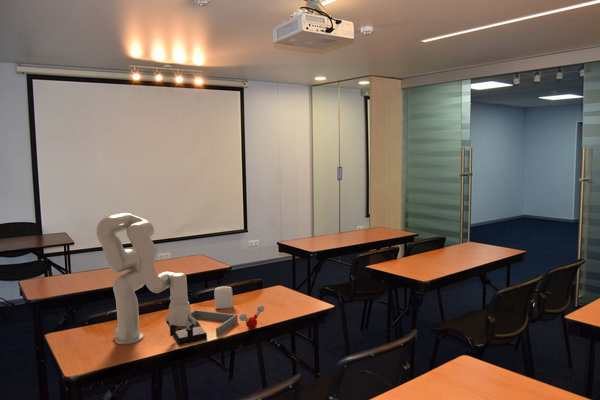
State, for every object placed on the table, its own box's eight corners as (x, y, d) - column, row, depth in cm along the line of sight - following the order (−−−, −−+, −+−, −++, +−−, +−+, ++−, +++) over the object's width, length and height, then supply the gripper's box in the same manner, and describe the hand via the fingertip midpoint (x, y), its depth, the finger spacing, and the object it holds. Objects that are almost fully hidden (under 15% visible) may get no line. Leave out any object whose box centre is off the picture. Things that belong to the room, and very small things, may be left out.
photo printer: (214, 309, 244) (213, 288, 243) (215, 307, 249) (214, 286, 248) (233, 308, 246) (232, 287, 245) (233, 305, 250) (232, 284, 249)
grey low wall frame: (173, 330, 216) (172, 322, 215) (195, 317, 233) (195, 309, 233) (218, 336, 206) (217, 328, 206) (237, 322, 224) (237, 314, 224)
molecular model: (247, 335, 206) (246, 315, 205) (237, 333, 209) (236, 313, 208) (266, 323, 222) (265, 304, 221) (256, 321, 224) (255, 302, 223)
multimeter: (197, 327, 220) (197, 317, 220) (207, 340, 203) (206, 330, 203) (171, 332, 214) (170, 322, 214) (179, 346, 197) (178, 335, 197)
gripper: (158, 300, 198) (161, 336, 200) (189, 304, 192) (192, 341, 193) (169, 296, 205) (171, 330, 207) (199, 299, 199) (202, 335, 200)
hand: (181, 335), depth 200 cm, fingers open, 9 cm apart
